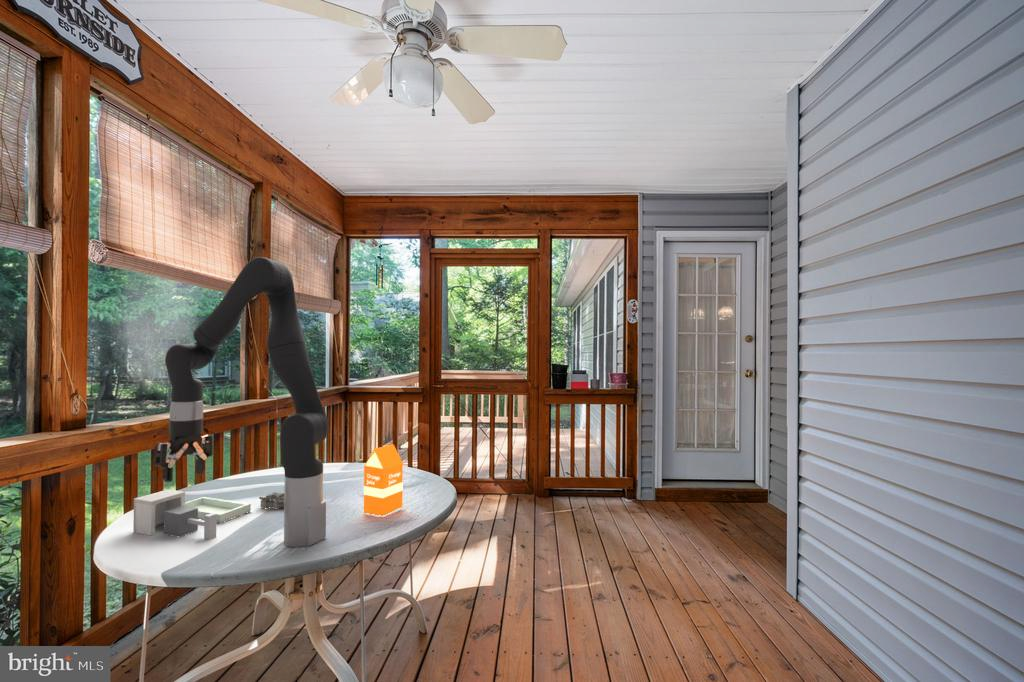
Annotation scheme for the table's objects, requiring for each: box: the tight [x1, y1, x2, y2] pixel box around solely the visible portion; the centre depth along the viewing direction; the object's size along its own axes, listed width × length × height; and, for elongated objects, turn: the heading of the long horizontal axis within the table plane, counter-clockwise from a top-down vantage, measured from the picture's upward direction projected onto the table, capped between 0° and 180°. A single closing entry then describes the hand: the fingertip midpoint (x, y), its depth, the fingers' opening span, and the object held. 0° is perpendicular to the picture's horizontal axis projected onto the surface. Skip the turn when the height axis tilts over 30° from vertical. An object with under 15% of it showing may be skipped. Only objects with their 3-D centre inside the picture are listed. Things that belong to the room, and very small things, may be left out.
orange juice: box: [363, 443, 404, 516], centre depth 143 cm, size 8×9×20 cm
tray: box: [185, 496, 252, 524], centre depth 142 cm, size 20×10×2 cm, turn 70°
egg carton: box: [259, 491, 284, 510], centre depth 149 cm, size 11×8×4 cm
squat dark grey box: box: [163, 506, 217, 540], centre depth 126 cm, size 15×5×6 cm, turn 70°
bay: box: [132, 488, 186, 536], centre depth 130 cm, size 7×9×9 cm
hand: (184, 477), depth 127 cm, fingers open, 8 cm apart
